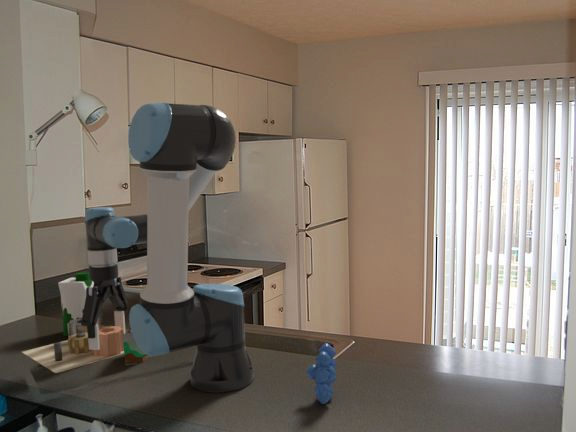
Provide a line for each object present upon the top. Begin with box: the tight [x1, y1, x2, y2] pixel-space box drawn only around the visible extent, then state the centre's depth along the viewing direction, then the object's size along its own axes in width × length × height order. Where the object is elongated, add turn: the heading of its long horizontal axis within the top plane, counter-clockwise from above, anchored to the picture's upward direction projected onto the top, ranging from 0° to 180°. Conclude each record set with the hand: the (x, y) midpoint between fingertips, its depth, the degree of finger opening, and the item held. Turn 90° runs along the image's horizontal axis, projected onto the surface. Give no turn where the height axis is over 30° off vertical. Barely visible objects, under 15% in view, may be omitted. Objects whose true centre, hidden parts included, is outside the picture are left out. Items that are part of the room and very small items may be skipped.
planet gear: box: [92, 325, 124, 357], centre depth 152 cm, size 8×8×6 cm
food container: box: [122, 327, 152, 366], centre depth 145 cm, size 12×6×10 cm, turn 179°
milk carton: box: [57, 271, 94, 337], centre depth 170 cm, size 9×9×20 cm
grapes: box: [306, 342, 338, 405], centre depth 120 cm, size 12×7×12 cm, turn 164°
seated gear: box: [67, 317, 101, 338], centre depth 161 cm, size 8×8×6 cm
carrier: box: [21, 332, 124, 374], centre depth 154 cm, size 24×24×6 cm
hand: (108, 341), depth 152 cm, fingers open, 13 cm apart
